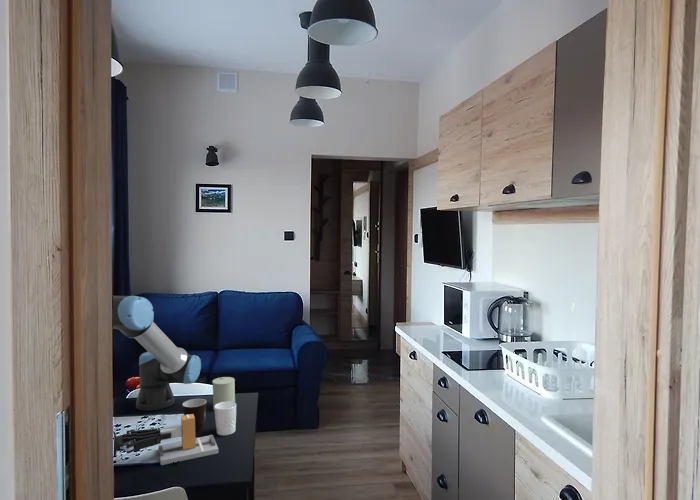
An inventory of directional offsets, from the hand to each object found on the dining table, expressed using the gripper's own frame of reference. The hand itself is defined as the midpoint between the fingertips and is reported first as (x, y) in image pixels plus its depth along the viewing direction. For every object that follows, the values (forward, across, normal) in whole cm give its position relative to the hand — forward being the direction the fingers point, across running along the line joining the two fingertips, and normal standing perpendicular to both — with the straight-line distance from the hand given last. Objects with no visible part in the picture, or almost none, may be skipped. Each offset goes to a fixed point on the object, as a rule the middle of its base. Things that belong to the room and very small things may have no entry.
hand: (181, 431), depth 159 cm
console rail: (+2, -1, -7) cm, 8 cm away
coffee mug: (+7, -20, -8) cm, 22 cm away
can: (+20, -36, -8) cm, 42 cm away
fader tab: (+2, -1, -6) cm, 6 cm away
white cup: (+17, -11, -8) cm, 21 cm away
